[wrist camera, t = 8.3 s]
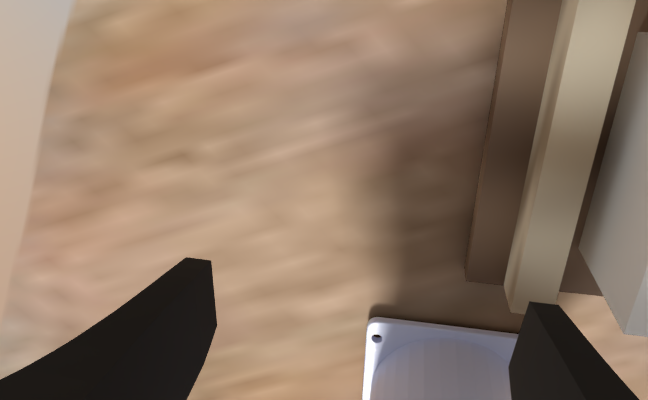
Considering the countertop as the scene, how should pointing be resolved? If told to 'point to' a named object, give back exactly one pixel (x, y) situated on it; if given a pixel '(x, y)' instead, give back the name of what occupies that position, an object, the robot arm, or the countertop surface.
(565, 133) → the board
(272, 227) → the countertop surface
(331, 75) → the countertop surface
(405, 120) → the countertop surface
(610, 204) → the white tall block
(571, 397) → the robot arm
